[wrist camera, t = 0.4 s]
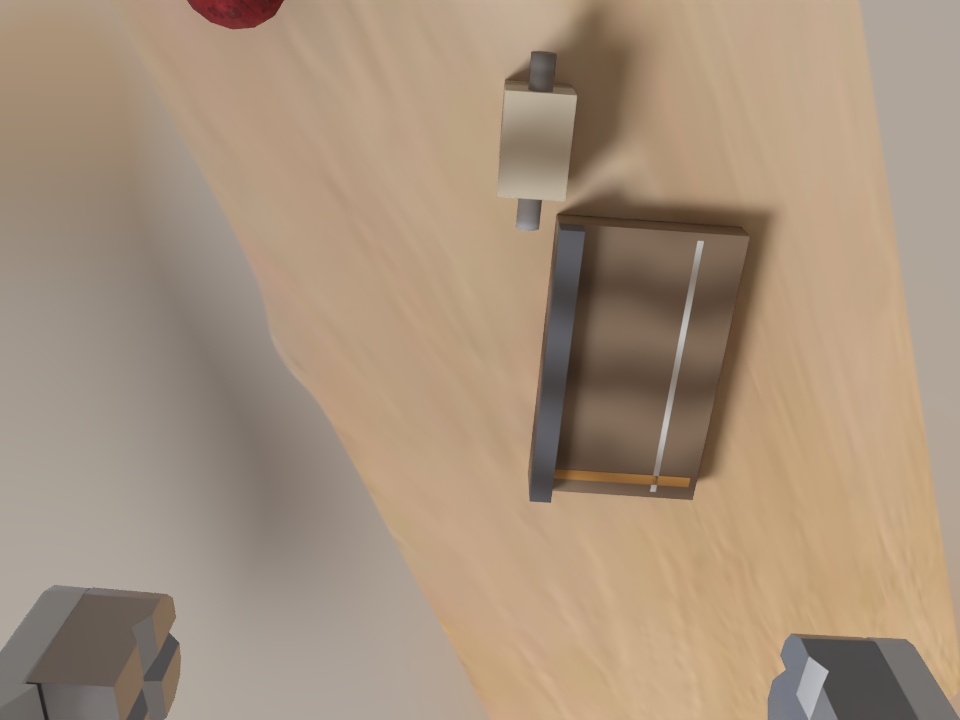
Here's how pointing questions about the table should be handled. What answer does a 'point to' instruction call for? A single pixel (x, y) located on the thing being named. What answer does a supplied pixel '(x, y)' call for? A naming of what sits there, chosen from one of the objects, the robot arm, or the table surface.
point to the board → (631, 354)
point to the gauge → (535, 140)
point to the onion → (236, 11)
